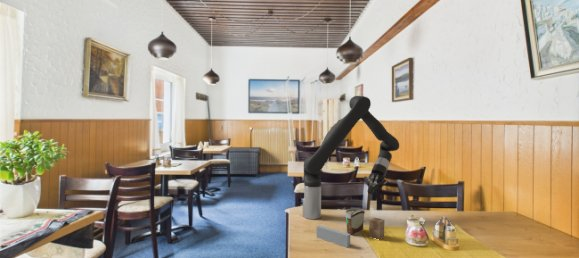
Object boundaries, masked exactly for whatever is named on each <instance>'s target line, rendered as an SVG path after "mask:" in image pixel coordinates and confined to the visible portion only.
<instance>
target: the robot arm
mask: <svg viewBox="0 0 579 258" xmlns="http://www.w3.org/2000/svg"><path fill="white" fill-rule="evenodd" d="M348 103H349V108H350V110H349V111H348V113H347V114H345V116H343V117H342V118H340V119H339V120H338V121H337V122H336V123H334V124H333V125H332V127H331V128H330V129H329V130H328V132H327V133H326V135H325V136H324V138H323V140H322V143H321V144H320V146H319V148H317V150H316V152H315V153H314V154H313V155H309V156H307V157H306V158H305V159H304V161H303V182H304V183H303V185H304V187H303V190H304V193H303V194H304V195H303V196H304V197H303V198H302V216H303V217H304V218H306V219H309V220H317V219H321V217H322V179H321V171H322V170H323V168H324V166H325V164H326V163H327V161H328V160H329V158H330V157H331V156H332V154H333V153H335V151H336V150H337V148H339V146H340V145H341V144H342V143H343V142H344V140H345V139H346V138H347V136H349V134H350V133H351V131H352V130H353V128H354V127H355V126H356V124H357V123H358V122H359V121H360V120H362V122H363V123H364V124H365V125H366V126H367V127H368V128H369V130H370V131H371V132H372V134H373V135H374V137H375V138H376V139H377V141H380V143H379V152H378V155H377V159H376V160H375V162H374V164H373V166H372V168H371V172H370V174H369V176H366V175H365V176H364V177H363V178H364V180H365V183H366V186H367V187H368V189H367V193H368V195H373V194H374V193H375V191H376V189H377V190H380V189H382V187H385V185H387V184H388V181H387V179H386V178H385V177H386V174H387V172H388V169H389V166H390V163H391V161H392V159H393V158H392V157H393V155H392V153H391V152H395V151H397V150H399V149H400V142H399V140H398V139H397V138H396V137H395V136H394V135H392V133H390V132H388V130H387V129H386V127H385V126H384V124H382V122H381V121H379V120H378V118H376V116H374V115H373V114H372V113H371V112H370V111H369V109H370V108H371V106H372V105H371V103H372V102H371V99H370V98H369V97H368V96H364V95H355V96H353V97H351V98H350V100H349V102H348Z"/></svg>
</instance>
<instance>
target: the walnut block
mask: <svg viewBox="0 0 579 258" xmlns="http://www.w3.org/2000/svg"><path fill="white" fill-rule="evenodd" d="M368 221H369V222H368V238H369V237H372V238H371V239H373V238H376V239H379V240H378V241H381V240H382V239H384V238H385V219H383V218H379V217H372V218H371V219H369V220H368ZM383 237H384V238H383ZM381 238H382V239H381ZM376 239H375V240H376ZM380 239H381V240H380Z"/></svg>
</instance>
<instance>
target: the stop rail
mask: <svg viewBox="0 0 579 258" xmlns="http://www.w3.org/2000/svg"><path fill="white" fill-rule="evenodd" d="M316 238H318V239H321V240H324V241H327V242H329V243H333V244H335V245H339V246H342V247H345V248H349V247H350V246H351V235H350V234H349V233H347V232H345V231H342V230H338V229H335V228H331V227H329V226H328V227H327V226H324V225H321V224H319V225H316Z"/></svg>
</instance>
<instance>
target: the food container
mask: <svg viewBox="0 0 579 258" xmlns="http://www.w3.org/2000/svg"><path fill="white" fill-rule="evenodd" d="M365 213H366V211H365V209H363V208H354V207H353V208H348V209H346V210H345V212H344V217H345V218H346V219H345V220H346V233H349V234H350V236H354V235H356V234H359V233H361V232H362V230H363V231H364V223H365Z"/></svg>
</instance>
